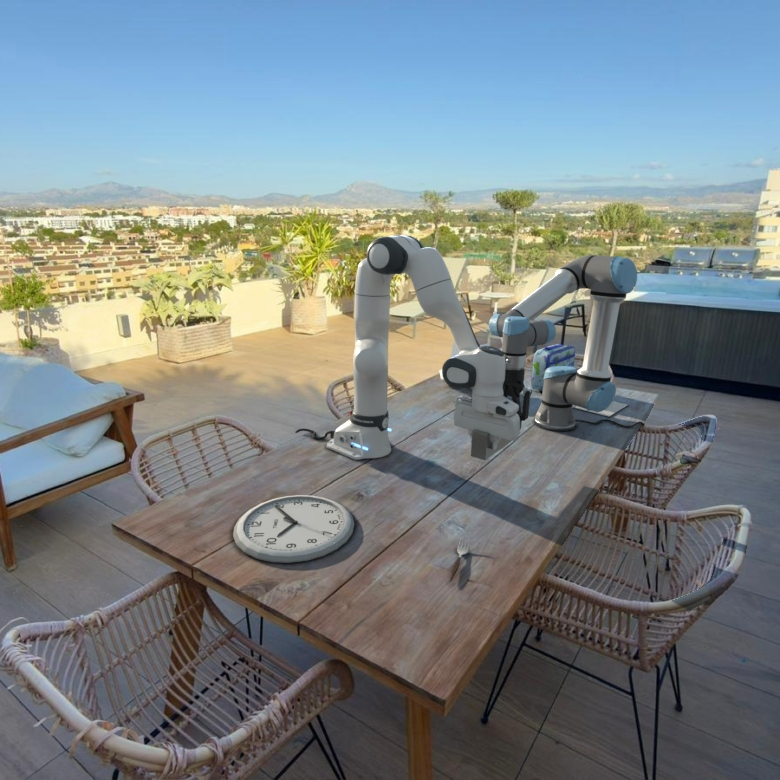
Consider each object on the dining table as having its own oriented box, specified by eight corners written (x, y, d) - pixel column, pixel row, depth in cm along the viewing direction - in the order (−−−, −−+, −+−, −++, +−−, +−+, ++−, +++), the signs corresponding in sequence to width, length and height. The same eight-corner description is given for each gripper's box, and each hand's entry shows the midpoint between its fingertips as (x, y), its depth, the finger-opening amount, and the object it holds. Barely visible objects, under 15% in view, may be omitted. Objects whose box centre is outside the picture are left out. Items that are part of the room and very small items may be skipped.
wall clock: (355, 554, 119) (220, 559, 116) (355, 560, 119) (221, 565, 117) (353, 490, 147) (244, 493, 145) (353, 495, 148) (245, 498, 145)
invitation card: (608, 416, 214) (573, 407, 224) (608, 416, 214) (573, 408, 224) (628, 404, 229) (594, 396, 238) (628, 405, 229) (594, 397, 238)
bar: (504, 433, 173) (506, 410, 170) (517, 437, 170) (519, 413, 168) (470, 456, 155) (472, 430, 153) (485, 460, 153) (487, 434, 150)
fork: (443, 582, 112) (444, 574, 112) (460, 542, 127) (460, 535, 126) (455, 584, 112) (456, 576, 111) (471, 544, 126) (471, 537, 125)
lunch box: (547, 396, 238) (552, 351, 232) (526, 391, 246) (531, 347, 239) (574, 385, 256) (579, 343, 250) (554, 380, 263) (559, 340, 257)
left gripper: (450, 397, 155) (448, 440, 159) (515, 412, 143) (510, 458, 147) (461, 392, 160) (458, 434, 164) (524, 406, 148) (519, 451, 152)
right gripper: (480, 364, 164) (476, 433, 171) (535, 374, 154) (528, 447, 161) (491, 360, 170) (486, 427, 177) (545, 369, 159) (537, 440, 166)
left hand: (483, 446), depth 156 cm, fingers closed on bar, 5 cm apart
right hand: (506, 436), depth 169 cm, fingers closed on bar, 5 cm apart
